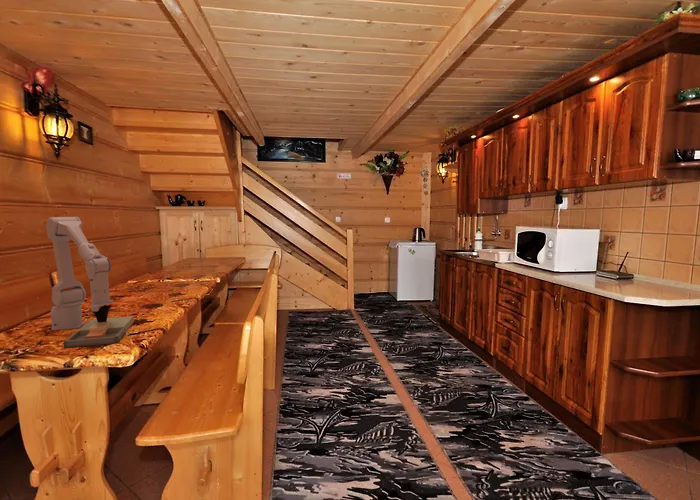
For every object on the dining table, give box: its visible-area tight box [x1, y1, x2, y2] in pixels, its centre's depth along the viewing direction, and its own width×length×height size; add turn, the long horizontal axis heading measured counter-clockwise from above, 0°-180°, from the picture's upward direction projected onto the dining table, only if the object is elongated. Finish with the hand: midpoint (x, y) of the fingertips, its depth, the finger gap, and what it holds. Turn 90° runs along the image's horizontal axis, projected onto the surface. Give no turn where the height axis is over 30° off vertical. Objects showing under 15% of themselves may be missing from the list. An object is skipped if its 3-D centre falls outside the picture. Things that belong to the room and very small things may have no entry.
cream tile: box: [89, 322, 110, 333], centre depth 138 cm, size 5×5×2 cm
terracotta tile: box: [85, 331, 106, 339], centre depth 134 cm, size 5×5×2 cm
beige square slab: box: [76, 315, 135, 336], centre depth 147 cm, size 15×15×2 cm
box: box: [63, 328, 127, 349], centre depth 135 cm, size 16×11×2 cm
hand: (102, 325), depth 141 cm, fingers closed, pressing on cream tile
